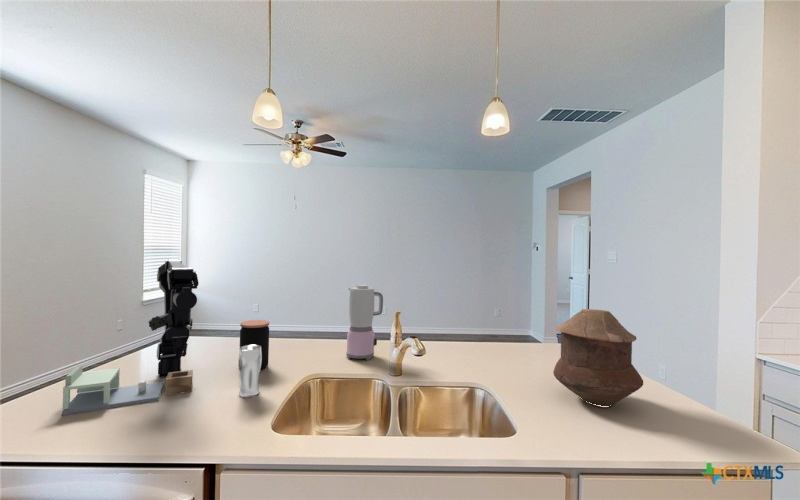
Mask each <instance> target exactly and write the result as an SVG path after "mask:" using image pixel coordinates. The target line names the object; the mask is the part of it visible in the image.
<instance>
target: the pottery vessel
mask: <svg viewBox="0 0 800 500" xmlns="http://www.w3.org/2000/svg"><path fill="white" fill-rule="evenodd" d="M555 330H556V331H557V332H559V333H560V358H559V359H558V361H557V362H556V364H555V366H554V368H553V371H552V372H553V375H554V377H555V379H556V380H557V381H558V382H559V383H560V384H561V385H563V387H566V389H567V390H569V391H570V392H572V393H573V394H574V395H577V396H578V397H579V398H580V397H581V398H582V399H583V400H585V401H587V402H590V403H592V404H596V405H601V406H610V405H613V404H614V405H615V404H616V403H618V402H620V401H622V400H623V399H625V398H627V397H629V396H630V395H632V394H633V393H635V392H637V391H638V390H640V389H641V388H642V387H643V385H644V380H643V377H642V376H641V374H640V373H639V372H638V370H637V369H636V368H635V366H634V365H633V363H632V362H633V361H632V360H633V359H632V354H633V342H635V341H637V336H636V335H634V334H633V333H632V332H630V331H629V330H627V329H626V328H625V327H624V326H623V325H622V324H621V322H620V321H619V320H618V319H617V317H616V316H614V314H612V312H610V311H609V310H604V309H603V310H602V309H593V308H585V309H584V308H583V309H581V310H580V311H578V312H577V313H576V314H574V315H573V316H571V317H570V318H569V319H567V320H566V321H564V322H562V323H561V324H559V325H557V326H556V327H555ZM581 398H580V399H581ZM582 399H581V400H582ZM583 400H582V401H583ZM585 401H584V402H585ZM614 405H613V406H614Z"/></svg>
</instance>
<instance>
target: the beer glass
mask: <svg viewBox="0 0 800 500" xmlns="http://www.w3.org/2000/svg"><path fill="white" fill-rule="evenodd" d="M261 361H262V354H261V346H259V345H247V346H242V347H240V346H239V352H238V363H237V364H238V373H239V378H240V379H239V380H240V386H239V391H238V396H239V397H240V396H241V397H240V398H252V396H253V397H256V396H257V394H258V395H259V394H260V387H259V386H260V385H259V378H260V375H261V374H260V373H261V371H260V369H261ZM255 395H256V396H255Z"/></svg>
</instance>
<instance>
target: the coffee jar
mask: <svg viewBox="0 0 800 500" xmlns="http://www.w3.org/2000/svg"><path fill="white" fill-rule="evenodd" d="M239 325H240V327H241V328H240V330H239V348H240V347H242V346H247V345H259V346H261V354H262V361H261V369H260V372H262V371H264V370H266V369H267V368H268V366H269V353H270V352H269V350H270V347H269V346H270V327H269V326H270V321H269V320H266V319H253V320H251V319H250V320H244V321H241V322H240V323H239Z"/></svg>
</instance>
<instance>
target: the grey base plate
mask: <svg viewBox="0 0 800 500" xmlns="http://www.w3.org/2000/svg"><path fill="white" fill-rule="evenodd" d="M147 382H148V381H146V380H142V381H139V382H138V384H133V385H129V386H122V387H121V386H119V388H112V389H110V402H109V403H103V402H104V390H97V391H89V392H82V393H77V394H76V395H75V396H74V397H73V398H72V399H71V400H70V407H69V408H68V409H62V410H61V416H63V415H71V414H77V413H78V414H79V413H85V412H91V411H99V410H105V409H112V408H117V407H119V408H120V407H125V406H131V405H132V406H133V405H137V404H145V403H151V402H157V401H159V400H160V397H161V394H162V391H163V388H164V386H165V381H159V382H149V383H147Z"/></svg>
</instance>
